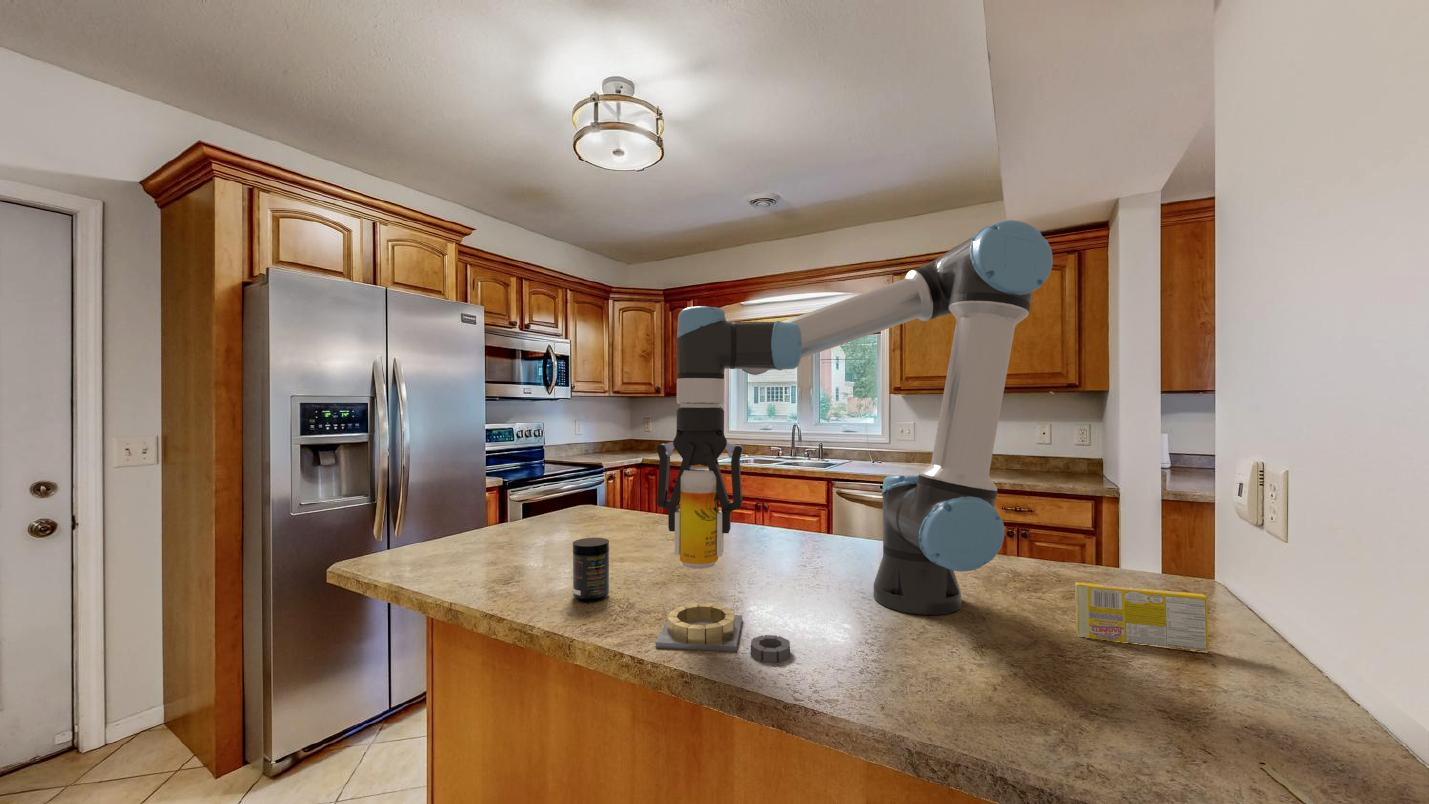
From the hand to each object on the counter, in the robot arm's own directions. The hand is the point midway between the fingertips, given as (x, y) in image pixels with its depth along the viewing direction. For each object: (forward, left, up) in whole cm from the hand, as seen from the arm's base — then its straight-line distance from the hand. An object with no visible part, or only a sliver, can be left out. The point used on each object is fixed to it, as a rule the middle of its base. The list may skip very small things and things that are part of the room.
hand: (699, 552), depth 89 cm
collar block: (0, 0, -13) cm, 13 cm away
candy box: (-66, -4, -13) cm, 68 cm away
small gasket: (-11, +6, -13) cm, 18 cm away
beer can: (0, 0, -2) cm, 2 cm away
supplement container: (+23, -14, -13) cm, 30 cm away
